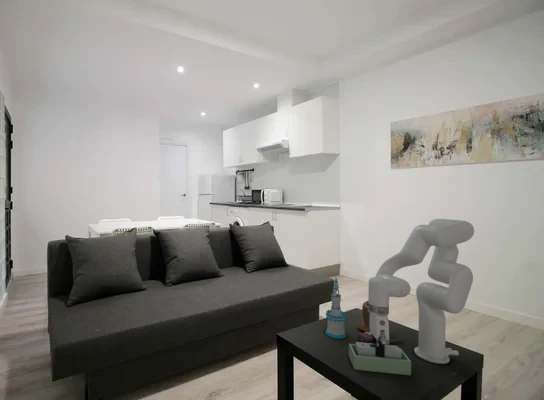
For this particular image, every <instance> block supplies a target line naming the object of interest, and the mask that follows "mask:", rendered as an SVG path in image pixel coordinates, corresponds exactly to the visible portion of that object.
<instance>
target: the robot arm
mask: <svg viewBox="0 0 544 400" xmlns="http://www.w3.org/2000/svg"><path fill="white" fill-rule="evenodd" d="M474 234H475V228H474V225H473V224H472V223H471V222H469V221H467V220H460V219H450V218H449V219H448V218H433V219H431V220H430V221H429V222H428V224H418V225H416V226H414V228H413V229H412V231H411V233H410V234H409V236H408V237H407V240H406V241H405V243H404V245H403V247H402V248H401V250H400V251H399V252H398V253H396V254H394V255H392V256H391V257H389V258H388V259H386V260H385V261H384V262H383V263H382V264H381V265H380V267H379V268H378V270H377V272H376V274H375V275H374V276H372V277H370V278H369V279H368V293H367V296H368V297H367V298H368V299H367V301H368V311H369V312H370V331H371V332H372V339H373V340H372V344H377V346H376V356H378V357H385V345H387V344H386V341H385V339H386V340H387V341H389V340H390V324H389V323H390V322H389V315H390V297H391V298H405V297H407V296H409V295H410V293H411V290H412V288H411V284H410V283H409V281H407V280H405V279H403V278H400V277H397V276H395V275H394V274H395V273H396V272H398V271H399V270H401V269H403V268H406V267H412V266H416V265H419V264H421V263H422V262H424V259H425V257H426V255H427V254H428V252H429V250H430V249H431V248H432V247H434V250H433V252H432V253H433V254H432V256H431V259H430V262H429V265H428V267H427V276H428V277H429V278H430V279H431V280H433V281H435V282H438V283H441V284H445V285H448V287H447V286H444V285H441V284H437V283H434V282H430V281H424V282H420V283H419V284H418V285H417V287H416V289H415V296H416V300H417V301H416V302H417V306H418V342H417V343H418V345H417V346H416V347H414V349H413V352H414V354H415V355H416V357H418V358H420V359H421V360H424V361H427V362H429V363H433V364H439V365H445V364H448V363H450V362H451V361H450V360H451V358H450V356H455V357H457V356H459V354H460V353H459V351H458V350H453V349H452V348H451V347H446V328H447V327H446V323H447V322H446V321H447V320H446V319H447V318H446V315H445V312H446V313H449V314H454V315H455V314H456V315H457V314H459V313H461V312H462V311H463V310H464V308H465V307H466V303H467V300H468V298H469V295H470V292H471V289H472V285H473V281H474V275H473V272H472V269H471V268H470V267H469V266H467V265H465V264H462V263H459V262H457V261H458V257H459V253H460V252H459V247H458V245H459V244H462V243H466V242H468V241H469V240H471V239H472V238H473V236H474ZM380 337H381V339H380ZM380 341H381V342H380Z"/></svg>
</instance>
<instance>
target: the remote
mask: <svg viewBox="0 0 544 400" xmlns="http://www.w3.org/2000/svg"><path fill="white" fill-rule="evenodd" d="M355 344H356V351H357V353H358V355H363V356H373V357H378V356H376V346H377V344H372V343H363V342H361V341H355ZM399 348H400V347H399V346H398V345H393V344H386V345H385V357H382V358H392V359H401V354H402V351H401V350H400V349H399Z"/></svg>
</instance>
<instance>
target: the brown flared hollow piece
mask: <svg viewBox="0 0 544 400" xmlns="http://www.w3.org/2000/svg"><path fill="white" fill-rule="evenodd" d="M361 314H362V317H363V321H361V322H359V323H356V328H358V329H359V330H361V331H363V332H364V333H365V332H370V312H369V311H368V300H366V301H364V302H363V304H362V308H361Z"/></svg>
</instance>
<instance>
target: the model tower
mask: <svg viewBox="0 0 544 400" xmlns="http://www.w3.org/2000/svg"><path fill="white" fill-rule="evenodd" d="M333 282H334V283H333V286H332V288H333V290H332V293H331V294H330V296H331V297H330V300H331V306H330V309H327V310H326V311H325V316H326V317H325V318H326V319H327V325H326V326H327V328H326V329H325V331H324V333H325V335H326V336H328V337H330V338H333V339H345V338H347V333H346V331H345V321H346V319H347V316H346V315H347V314H346V313H345V311H343V310H342V307H341V301H342V299H341V297H342V295H341V294H340V290H339V289H340V287H339V282H338V279H337V274H335V279H334V281H333Z"/></svg>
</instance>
